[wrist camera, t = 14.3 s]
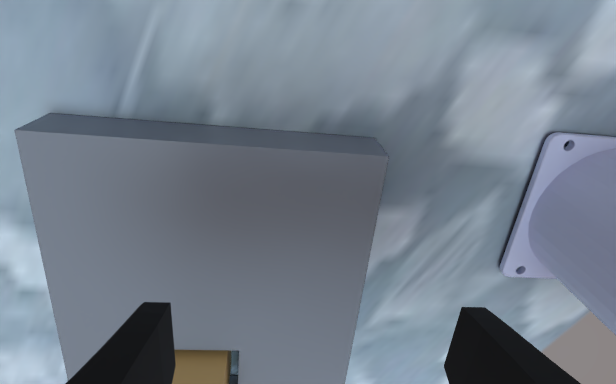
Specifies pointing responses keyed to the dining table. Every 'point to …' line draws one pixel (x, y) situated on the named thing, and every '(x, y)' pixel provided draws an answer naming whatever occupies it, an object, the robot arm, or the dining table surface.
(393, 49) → the dining table surface
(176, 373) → the plug
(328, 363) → the socket plate
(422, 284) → the dining table surface
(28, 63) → the dining table surface
